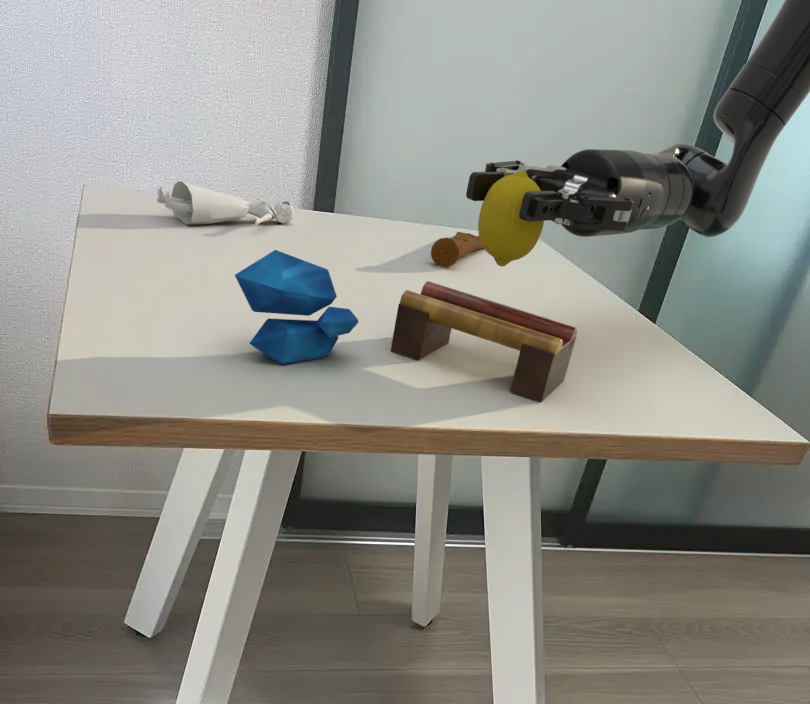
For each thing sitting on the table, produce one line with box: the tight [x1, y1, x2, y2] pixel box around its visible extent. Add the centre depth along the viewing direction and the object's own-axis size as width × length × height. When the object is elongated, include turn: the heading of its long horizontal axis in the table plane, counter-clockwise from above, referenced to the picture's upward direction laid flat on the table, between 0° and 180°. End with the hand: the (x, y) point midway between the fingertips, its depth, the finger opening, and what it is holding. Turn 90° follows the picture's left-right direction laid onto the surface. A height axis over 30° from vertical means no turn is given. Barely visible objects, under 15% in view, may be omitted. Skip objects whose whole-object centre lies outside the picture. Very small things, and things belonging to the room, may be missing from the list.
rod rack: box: [390, 280, 578, 403], centre depth 82 cm, size 15×7×6 cm, turn 64°
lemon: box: [477, 171, 545, 267], centre depth 77 cm, size 6×6×8 cm
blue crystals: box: [234, 249, 359, 366], centre depth 75 cm, size 7×9×12 cm
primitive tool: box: [430, 231, 484, 268], centre depth 118 cm, size 19×6×4 cm, turn 165°
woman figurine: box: [156, 180, 295, 226], centre depth 111 cm, size 12×4×18 cm
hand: (497, 196), depth 74 cm, fingers closed on lemon, 5 cm apart
